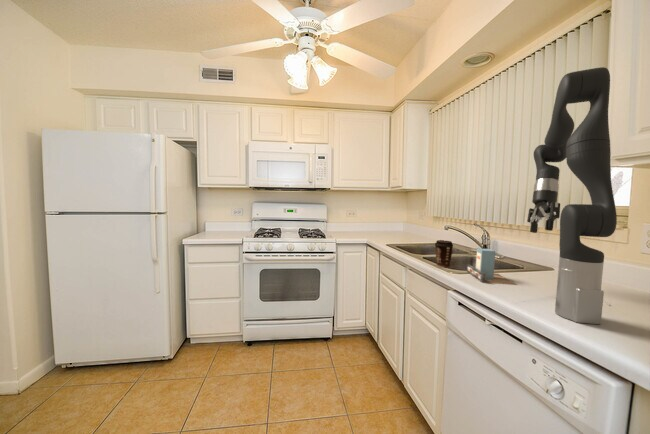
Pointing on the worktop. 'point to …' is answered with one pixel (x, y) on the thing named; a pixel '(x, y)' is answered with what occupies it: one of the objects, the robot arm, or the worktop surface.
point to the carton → (486, 262)
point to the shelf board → (481, 277)
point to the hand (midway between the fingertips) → (540, 231)
